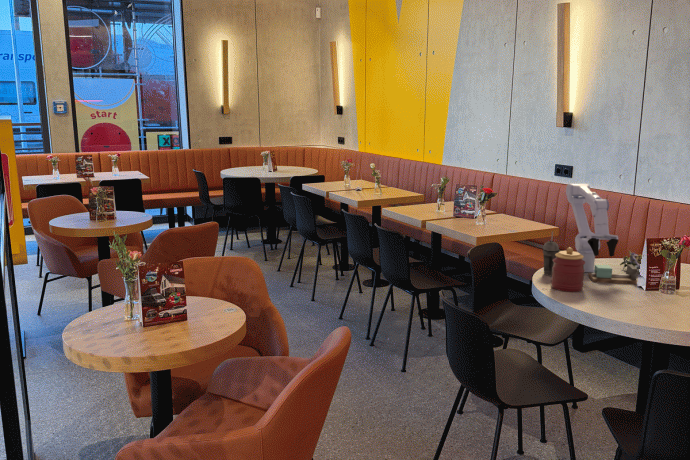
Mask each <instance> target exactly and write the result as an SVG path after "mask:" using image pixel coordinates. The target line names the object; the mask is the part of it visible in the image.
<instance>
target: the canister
mask: <svg viewBox="0 0 690 460" xmlns="http://www.w3.org/2000/svg"><path fill="white" fill-rule="evenodd" d="M555 256H556V258H554V259H553V262H554V265H553V267H552V276H551V281H550V284H551V285H550V286H551V288H552V289H554V290H557V291H559V292H561V291H562V292H569V293H573V292H574V293H575V292H580V291H582V290H583V288H584V280H585V279H584V278H585V272H584V271H585V269H584V264H585V261H584V260H583V258H584V256H583V255H581V254H580V253H578V251H574V249H573V248H572V247H570V246H569V247H567V248H566V250H559V252H558V253H556V254H555Z"/></svg>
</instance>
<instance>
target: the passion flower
mask: <svg viewBox="0 0 690 460" xmlns="http://www.w3.org/2000/svg"><path fill="white" fill-rule="evenodd" d="M628 253H629V257H628V255H625V256H623V257H622V260H623V261H622V262H621V263H620V264H619V266H622V265H623V268H622V271H624V269H625V268H627V264H631V265H633V266H634V267H636V268H637V274H639V269H640V264H641V259H642V255H643V254H641V253H640V254H638V253H635V252H631V250H628Z"/></svg>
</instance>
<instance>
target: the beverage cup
mask: <svg viewBox="0 0 690 460" xmlns="http://www.w3.org/2000/svg"><path fill="white" fill-rule="evenodd" d="M553 236H554V231H551V240H549V241H546V242H545V243H544V244H543V247H542V254H543V274H544V275H545V276H551V277H552V267H553V265H554V262H553V259H554V258H556V256H555V254H556V253H558V252H560V249H559V247H560V246H559V244H558V243H557V242H555V241H553V239H554V237H553Z"/></svg>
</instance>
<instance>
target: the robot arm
mask: <svg viewBox="0 0 690 460" xmlns="http://www.w3.org/2000/svg"><path fill="white" fill-rule="evenodd" d="M565 194H566V199H567V201H568V203H569V204H570V205H571V208H572V212H573V215H574V219H575V222H576V227H577V230H578V233H577V234H576V236H575V237H574V242H575V244H574V247H575V250H576V252H578V253H580V254H581V255H583V256H584V258H583V260H584V261H585V264H584V269H585V271H584V273H594V267H595V263H596V262H595V260H596V257H597V256H599V254H600V253H599V252H600V251H599V250H600V248H601V240H603V241H606V245H607V248H608V255H609V257H614V256H615V253H616V252H615V250H616V248H617V245H618V244H619V235H615V234H610V230H609V228H610V227H609V218H608V217H609V216H608V211H609V209H610V202H609V200H608V199H607V198H602V197H601V196H600V195H599V194H598V193H597V192H595V191H592V190H591V186H590V184H589V183H568V184H567V185H566V187H565ZM586 203H587V204H588V205H589V208H590V212H591V215H592V217H593V224H594V227H593V228H594V232H593V231H592V230H591V228H590V225H589V222H588V218H587V214H586V211H585V208H584V204H586Z"/></svg>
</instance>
